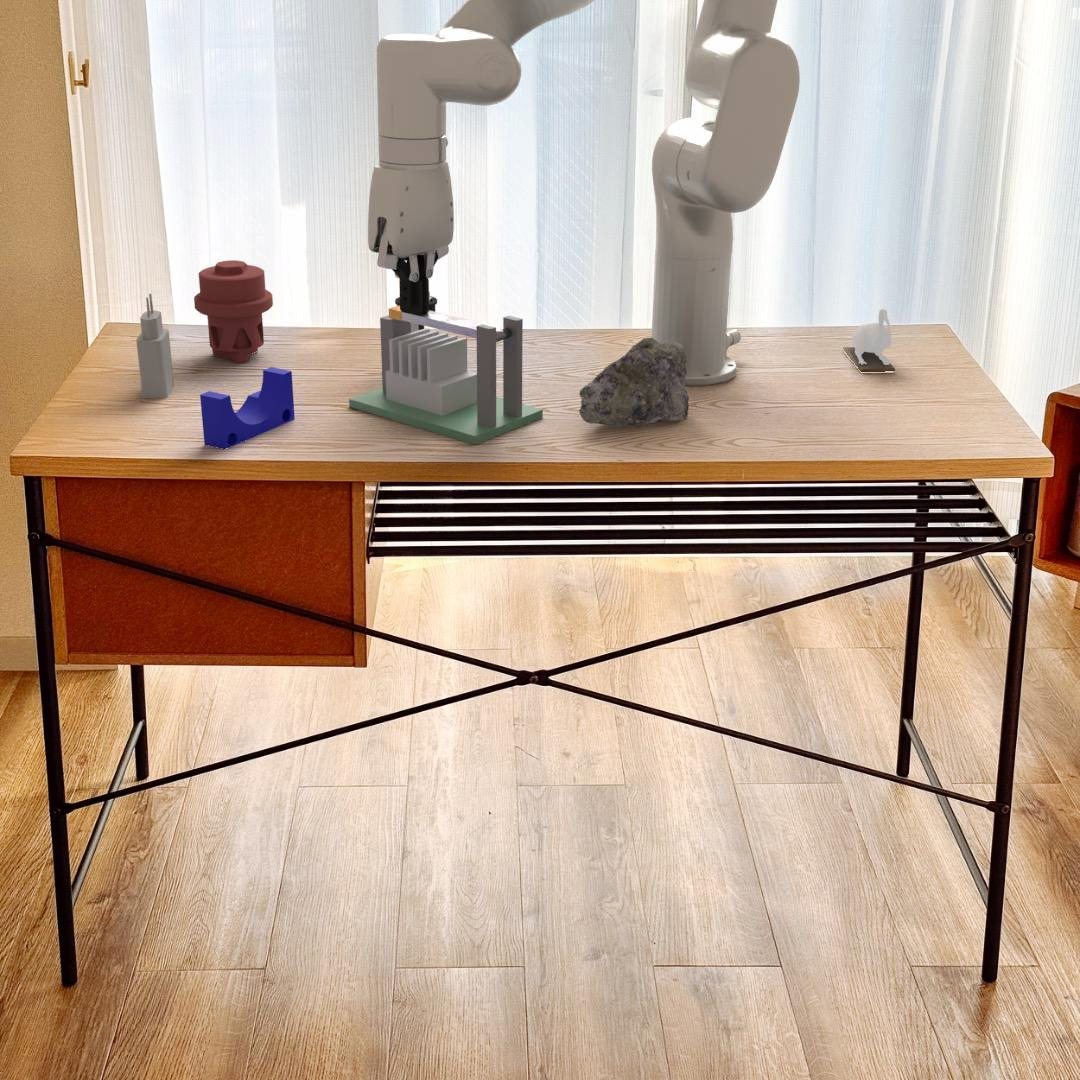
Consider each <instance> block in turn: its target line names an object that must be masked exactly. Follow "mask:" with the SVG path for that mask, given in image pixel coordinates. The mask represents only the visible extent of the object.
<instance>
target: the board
mask: <svg viewBox="0 0 1080 1080" xmlns="http://www.w3.org/2000/svg"><path fill="white" fill-rule="evenodd" d="M523 322H524V321H523V318H520V317H516V316H511V315H507V316H504V317H502V325H503V326H502V328H510V330H511V331H512V336H511V337H510V338H507V339H504V340H502V348H503V352H502V353H503V355H502V357H503V358H502V359H503V363H502V364H503V366H502V369H503V370H502V371H503V377H502V378H503V380H502V383H503V384H502V389H503V392H502V394H503V395H502V396H503V398H502V397H498V396H497V342H496V327H493V326H489V325H484V324H481V325H478V326H476V328H477V338H476V372H473V371H470V370H468V338H467V337H461V338H458V335H456V334H453V335H450V336H449V332H448V333H447V332H443V333H440V331H439V330H437V329H436V330H433V331H430V328H428V327H426V328H425V327H424V329H422V330H419V331H415V332H412V333H410V322H407V321H403V320H402V321H400V320H396V319H392V318H389V314H388V315H385V316H382V317H380V318H379V324H380V327H379V328H380V329H379V330H380V351H381V352H380V354H381V355H380V356H381V380H382V381H381V382H382V383H381V384H382V385H381V386H382V387H380V388H377V389H374V390H371V391H369V392H365V393H362V394H360V395H356V396H353V397H350V398H349V399H348V405H349V408H351V409H356V410H358V411H362V412H366V413H369V414H372V415H375V416H379V417H381V418H385V419H388V420H392V421H395V422H398V423H402V424H405V425H408V426H411V427H415V428H417V429H418V428H419V429H422V430H425V431H428V432H432V433H435V434H439V435H442V436H445V437H449V438H452V439H455V440H458V441H462V442H465V443H468V444H471V445H478V444H480V443H483V442H485V441H488V440H491V439H493V438H495V437H498V436H500V435H503V434H505V433H508V432H510V431H513V430H516V429H518V428H520V427H521V428H522V426H525V425H528V424H530V423H532V422H535V421H538V420H540V419H543V416H544V414H543V413H544V410H543V409H542V408H538V407H534V406H530V405H528V404H524V403H523V332H524V331H523V330H524V329H523Z"/></svg>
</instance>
